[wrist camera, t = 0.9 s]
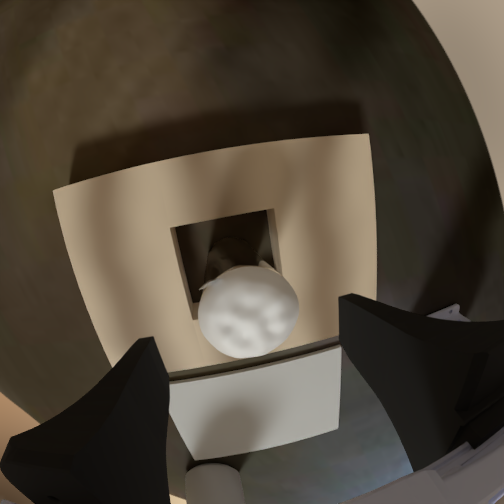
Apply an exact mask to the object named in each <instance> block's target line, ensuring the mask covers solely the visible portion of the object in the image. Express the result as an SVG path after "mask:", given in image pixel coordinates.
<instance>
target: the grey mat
mask: <svg viewBox="0 0 504 504" xmlns="http://www.w3.org/2000/svg"><path fill="white" fill-rule="evenodd" d="M169 384H170V404H169V413H170V415H171V417H172V419H173V421H174V423H175V425H176V427H177V429H178V431H179V433H180V434H181V436H182V438H183V440H184V442H185V444H186V446H187V447H188V449H189V451H190V453H191V455H192V456H193V458H194V460H203V459H211V458H218V457H224V456H230V455H236V454H242V453H247V452H252V451H257V450H262V449H266V448H271V447H275V446H279V445H283V444H287V443H291V442H295V441H299V440H302V439H306V438H309V437H313V436H316V435H319V434H322V433H326V432H329V431H332V430H335V429H338V422H339V406H340V385H341V346H340V344H339V345H336V346H333V347H329V348H326V349H322V350H319V351H315V352H311V353H308V354H304V355H300V356H296V357H292V358H288V359H284V360H280V361H276V362H272V363H268V364H263V365H259V366H254V367H250V368H245V369H240V370H235V371H230V372H225V373H220V374H214V375H208V376H203V377H197V378H191V379H184V380H177V381H170V382H169Z"/></svg>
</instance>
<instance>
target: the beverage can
mask: <svg viewBox="0 0 504 504" xmlns="http://www.w3.org/2000/svg"><path fill="white" fill-rule="evenodd" d="M185 484H186V502H187V504H245V499H244V494H243V489H242V484H241V479H240V474H239V472H238V471H237V470H235V469H234V468H232V467H230V466H228V465H225V464H220V463H206V464H201V465H198V466H196V467H194V468H193V469H191V470H189V471H188V472H187V474H186V476H185Z"/></svg>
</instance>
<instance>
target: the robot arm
mask: <svg viewBox="0 0 504 504" xmlns="http://www.w3.org/2000/svg"><path fill="white" fill-rule="evenodd" d="M338 307H339V340H340V342H341V344H342V346H343V348H344V350H345V352H346V354H347V355H348V357H349V359H350V360H351V362H352V363H353V364H354V366H355V367H356V368H357V370H358V371H359V372H360V374H361V375H362V376H363V378H364V379H365V380H366V382H367V383H368V384H369V386H370V387H371V389H372V390H373V391H374V393H375V394H376V395H377V397H378V398H379V400H380V401H381V403H382V405H383V407H384V408H385V410H386V412H387V414H388V416H389V418H390V419H391V421H392V423H393V425H394V427H395V429H396V431H397V433H398V435H399V437H400V440H401V442H402V444H403V446H404V449H405V451H406V453H407V456H408V458H409V461H410V463H411V466H412V469H413V471H414V473H411V474H409V475H406V476H404V477H401V478H399V479H397V480H395V481H393V482H391V483H389V484H386V485H384V486H382V487H380V488H377V489H375V490H373V491H370V492H368V493H366V494H363V495H361V496H358V497H355V498H353V499H350V500H347V501H345V502H342V503H339V504H494V503H495V502H496V501H497V500H499V499H500V498H501V497H502V496H503V495H504V320H500V321H489V322H471V321H470V320H468V319H467V318H466V317H464V316H463V315H461V314H460V313H459V308H460V306H459V305H458V304H454V305H452V306H449V307H447V308H445V309H442V310H440V311H437V312H435V313H433V314H430V315H428V316H423V315H419V314H415V313H411V312H408V311H404V310H401V309H398V308H395V307H392V306H389V305H386V304H384V303H381V302H378V301H375V300H372V299H370V298H367V297H364V296H361V295H358V294H354V293H350V294H347V295H343V296H339V297H338ZM169 404H170V384H169V375H168V373H167V370H166V368H165V365H164V363H163V360H162V358H161V355H160V352H159V350H158V347H157V344H156V342H155V339H154V336H151V337H144V338H139V339H138V340H137V341H136V342H135V343H134V344H133V345H132V346H131V347H130V348H129V349H128V351H127V352H126V353H125V354H124V355H123V356H122V358H121V359H120V360H119V361H118V362H117V363H116V364H115V366H114V367H113V368H112V369H111V370H110V371H109V372H108V373H107V374H106V375H105V376H104V377H103V378H102V379H101V380H100V381H99V383H98V384H97V385H95V386H94V387H93V388H92V389H91V390H90V391H89V392H88V393H87V394H85V395H84V396H83V397H82V398H81V399H79V400H78V401H77V402H76V403H74V404H73V405H71V406H70V407H68V408H67V409H66V410H64V411H63V412H61V413H60V414H58V415H57V416H55V417H53V418H52V419H50V420H48V421H46V422H44V423H42V424H41V425H39V426H37V427H34V428H32V429H30V430H28V431H25V432H23V433H20V434H18V435H15V436H12V437H11V438H10V440H9V442H8V445H7V447H6V449H5V452H4V454H3V456H2V459H1V462H0V468H1V471H2V473H3V474H4V476H5V477H6V478H7V479H8V480H9V482H11V484H13V485H14V486H15V487H16V488H17V489H18V490H19V491H20V492H22V493H23V494H24V495H25V496H26V497H27V498H29V499H30V500H31V501H32V502H33V503H35V504H171V503H170V496H169V488H168V478H167V466H166V437H167V426H168V415H169ZM1 504H16V503H13V502H10V501H7V500H2V502H1Z"/></svg>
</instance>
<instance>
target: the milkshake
mask: <svg viewBox="0 0 504 504" xmlns="http://www.w3.org/2000/svg"><path fill="white" fill-rule="evenodd" d="M201 289H202V294H201V298H200V303H199V308H198V321H199V326H200V329H201V331H202V333H203V335H204V337H205V338H206V339H207V340H208V341H209V342H210V344H211V345H212V346H214V347H215V348H216V349H217V350H218V351H220V352H222V353H223V354H225V355H228V356H230V357H234V358H249V357H257V356H262V355H265V354H267V353H269V352H271V351H272V350H274V349H275V348H276V347H278V346H279V345H281V344H282V343H283V342H284V341H285V340H286V339H287V338H288V337H289V335H290V334H291V332H292V330H293V328H294V326H295V324H296V321H297V319H298V315H299V301H298V298H297V295H296V293H295V291H294V289H293V288H292V286H291V285H290V284H289V282H288V281H287V280H286V279H285V278H284V277H283V276H281V275H280V274H279V273H278V272H277V271H276V270H275V269H274V268H272V267H271V266H270V265H269V264H268V263H267V262H266V261H265V260H264V259H262V258H261V257H260V256H259V255H258V253H257V252H256V251H255V250H254V249H253V248H252V247H251V246H250V245H249V244H248V243H247V242H246V240H244V239H240V238H236V237H231V236H229V237H227V238H224V239H222V240H219V241H217V242H215V244H214V246H213V247H212V249H211V250H210V252H209V253H208V256H207V263H206V270H205V277H204V284H203V286H202V287H201V288H200V289H199V290H201Z"/></svg>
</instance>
